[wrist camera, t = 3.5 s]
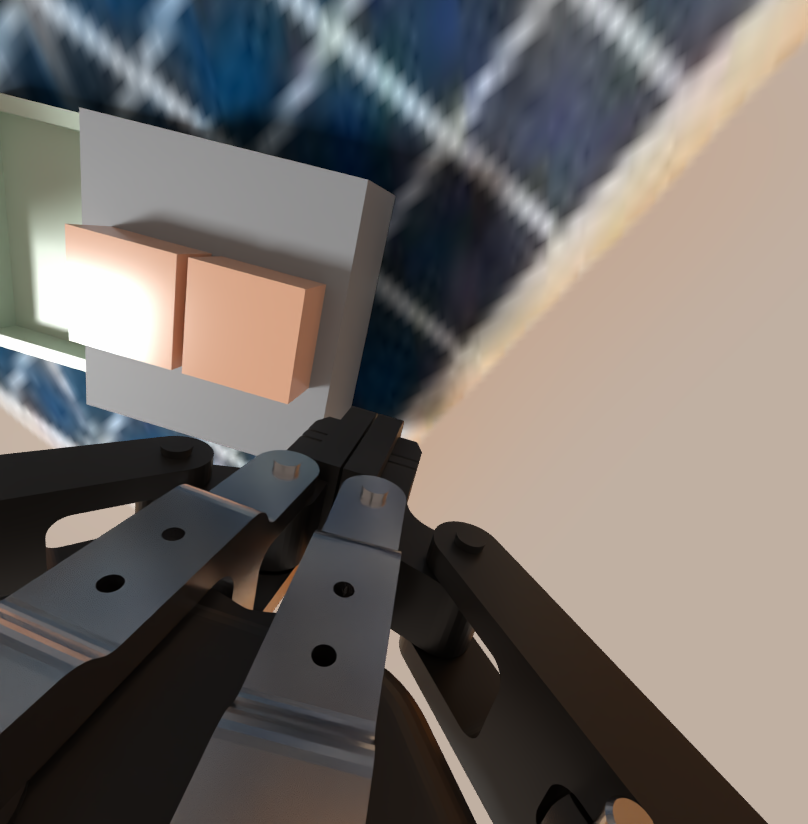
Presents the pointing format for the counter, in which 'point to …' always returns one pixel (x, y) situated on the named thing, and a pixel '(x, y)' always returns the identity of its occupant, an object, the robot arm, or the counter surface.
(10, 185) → the tray
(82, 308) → the tile
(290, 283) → the tile
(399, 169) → the counter surface
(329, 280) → the gray rectangular block
